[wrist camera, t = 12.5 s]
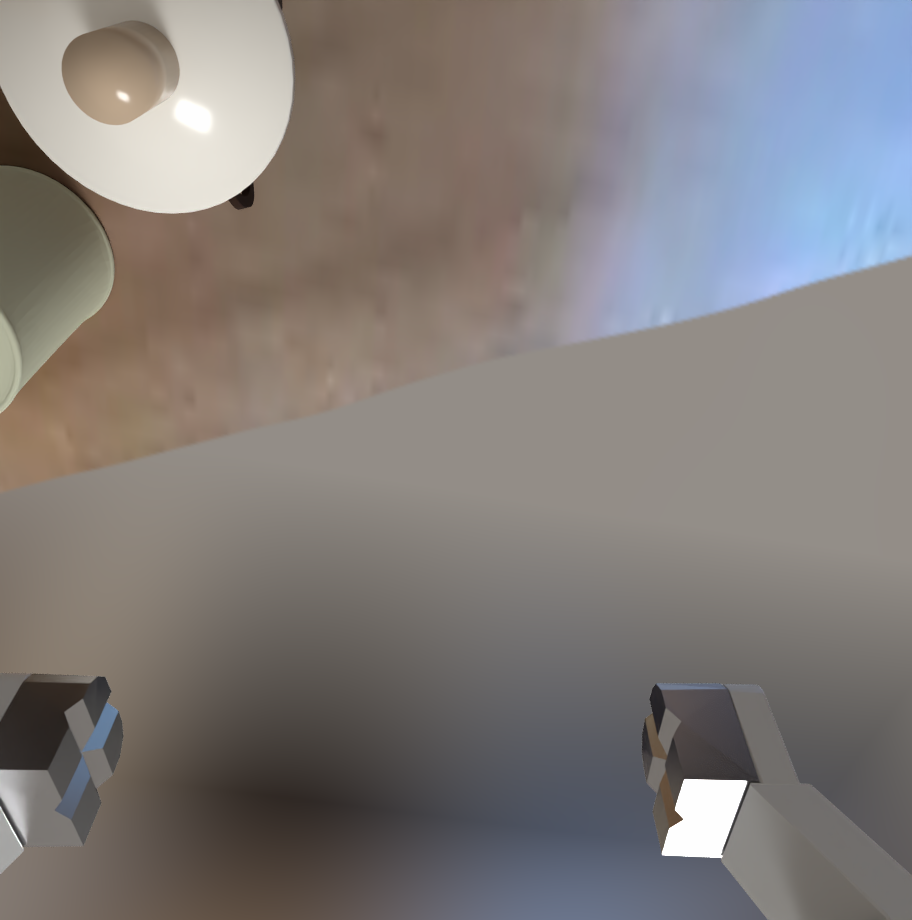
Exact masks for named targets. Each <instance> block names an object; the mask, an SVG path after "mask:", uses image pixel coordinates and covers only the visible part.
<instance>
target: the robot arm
mask: <svg viewBox="0 0 912 920" xmlns="http://www.w3.org/2000/svg"><path fill="white" fill-rule="evenodd" d="M110 693H111V689H110V687H109V685H108V682H107V680H106V678H105V677H100V676H78V675H53V674H26V673H0V874H1V873H2V872H3V871H4V870H5V869H6V868H7V867H8V866H9V865H10V864H11V863H12V862H13V861H14V860H15V859H16V858H17V857H18V856H19V855H20V854H21V853H22V852H23V851H24V849H23V847H50V846H51V847H54V846H84V843H85V841H86V838H87V836H88V834H89V831H90V829H91V826H92V824H93V822H94V819H95V817H96V814H97V812H98V809H99V807H100V805H101V800H100V797H99V794H98V792H97V788H98V787H99V786H100V785H101V784H102V783H104V782H105V781H106V780H107V779H108V778H109V777H111V776H112V775H113V773H114V770H115V768H116V765H117V762H118V760H119V758H120V753H121V747H122V741H123V726H122V720H121V717H120V714H119V711H118V710H116V709H115V708H113V707H112V706H111V705H109V704H108V703H107V700H108V698H109V696H110ZM650 704H651V709H652V714H651V715H650V716H648V717H647V718H645V722H644V726H643V732H642V758H643V767H644V771H645V777H646V782H647V783H648V785H649V786H650V787H651V788H652V789H653V790H654V791H655V792H656V793H657V796H656V800H655V804H654V808H653V815H654V820H655V824H656V829H657V833H658V838H659V843H660V847H661V852H662V855H677V856H702V857H722V859H721V861H722V863H723V864H724V865H725V866H726V867H727V869H728V870H729V871H730V872H731V874H732V875H733V876H734V878H735V879H736V880H737V881H738V883H739V884H740V885H741V886H742V887H743V889H744V890H745V891H746V893H747V894H748V895H749V896H750V898H751V899H752V900H753V901H754V903H755V904H756V905H757V906H758V908H759V909H760V910H761V912H762V913H763V914H764V915H765V917H766V918H767V919H768V920H912V875H911V874H910V873H908V872H907V871H906V870H905V869H904V868H903V867H902V866H901V865H899V864H898V863H897V862H896V861H895V860H894V859H893V858H892V857H891V856H890V855H888V854H887V853H886V852H885V851H884V850H883V849H882V848H881V847H880V846H878V845H877V844H876V843H875V842H874V841H873V840H872V839H871V838H870V837H868V836H867V835H866V834H865V833H864V832H863V831H862V830H860V829H859V828H858V827H857V826H856V825H855V824H854V823H853V822H852V821H851V820H850V819H849V818H847V817H846V816H845V815H844V814H843V813H842V812H841V811H840V810H838V809H837V808H836V807H835V806H834V805H833V804H832V803H831V802H830V801H829V800H827V799H826V798H825V797H824V796H823V795H822V794H821V793H819V792H818V791H817V790H816V789H815V788H814V787H813V786H812V785H811V784H800V783H799V780H798V778H797V775H796V772H795V770H794V768H793V765H792V763H791V760H790V757H789V755H788V752H787V750H786V747H785V745H784V742H783V739H782V737H781V734H780V732H779V729H778V727H777V724H776V722H775V719H774V717H773V714H772V712H771V709H770V706H769V704H768V701H767V699H766V696H765V694H764V691H763V690H762V689H761V688H760V687H759V686H758V685H744V684H741V685H739V684H723V685H722V684H720V683H719V684H718V683H708V684H707V683H700V684H699V683H691V684H690V683H676V684H675V683H656V684H655V685H654V687H653V688H652V691H651V695H650Z"/></svg>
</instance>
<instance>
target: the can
mask: <svg viewBox="0 0 912 920" xmlns="http://www.w3.org/2000/svg"><path fill="white" fill-rule="evenodd" d="M113 281H114V258H113V253H112V249H111V246H110V242H109V240H108V237H107V235H106V233H105V231H104V229H103V227H102V226H101V224H100V222H99V221H98V219H97V218H96V216H95V215H94V214H93V212H92V211H91V210H90V209H89V208H88V207H87V205H86V204H85V203H84V202H83V201H82V200H81V199H80V198H79V197H78V196H76V195H75V194H74V193H73V192H72V191H70V190H69V189H68V188H66V187H65V186H63V185H62V184H60V183H59V182H57V181H55V180H54V179H52V178H50V177H48V176H46V175H43V174H41V173H38V172H36V171H33V170H29V169H26V168H21V167H15V166H0V413H1V412H2V411H4V410H5V409H6V408H7V407H8V406H9V405H10V403H11V402H12V401H13V399H14V398H15V396H16V394H17V393H18V392H19V391H20V390H21V388H22V387H23V386H24V385H25V384H26V383H27V381H28V380H29V379H30V378H31V377H32V376H33V375H34V374H35V373H36V372H37V371H38V369H39V368H40V367H41V366H42V365H43V364H44V363H45V362H46V361H47V360H48V358H49V357H50V356H51V355H52V354H53V353H54V352H55V351H56V350H57V349H58V348H59V347H60V346H61V345H62V344H63V342H64V341H65V340H66V339H67V338H68V337H69V336H70V335H71V334H72V333H73V332H74V331H75V330H76V329H77V328H78V327H79V326H80V325H81V324H82V323H83V322H84V321H85V320H86V319H88V318H90V317H91V316H93V315H94V314H95V313H96V312H97V311H98V310H99V309H100V308H101V307H102V306H103V304H104V303H105V302H106V300H107V298H108V296H109V294H110V292H111V289H112V286H113Z"/></svg>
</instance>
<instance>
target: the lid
mask: <svg viewBox="0 0 912 920" xmlns="http://www.w3.org/2000/svg"><path fill="white" fill-rule="evenodd" d="M0 86H1V88H2V90H3V92H4V95H5V97H6V99H7V101H8V103H9V105H10V107H11V108H12V110H13V112H14V113H15V115H16V116H17V118H18V120H19V121H20V123H21V124H22V126H23V127H24V129H25V130H26V131H27V133H28V134H29V135H30V136H31V138H32V139H33V140H34V142H35V143H36V144H37V145H38V146H39V147H40V148H41V149H42V151H43V152H44V153H45V154H46V155H47V156H48V157H49V158H50V159H51V160H52V161H53V162H54V163H55V164H57V165H58V166H59V167H60V168H61V169H62V170H63V171H65V172H66V173H67V174H68V175H70V176H71V177H72V178H74V179H75V180H77V181H78V182H79V183H81V184H82V185H84V186H85V187H87V188H89V189H90V190H92V191H94V192H96V193H98V194H99V195H101V196H103V197H105V198H108V199H110V200H112V201H115V202H117V203H119V204H122V205H126V206H129V207H132V208H135V209H139V210H145V211H150V212H156V213H186V212H194V211H198V210H203V209H207V208H210V207H213V206H215V205H218V204H221V203H223V202H225V201H227V200H229V199H230V198H232V197H234V196H236V195H237V194H239V193H240V192H241V191H243V190H244V189H245V188H246V187H248V186H249V185H250V184H251V183H252V182H253V181H254V180H255V179H256V178H257V177H258V176H259V175H260V174H261V173H262V172H263V171H264V169H265V168H266V167H267V165H268V164H269V162H270V161H271V160H272V158H273V157H274V155H275V154H276V152H277V150H278V148H279V146H280V144H281V142H282V140H283V138H284V136H285V133H286V130H287V127H288V124H289V121H290V118H291V113H292V108H293V102H294V92H295V66H294V55H293V50H292V44H291V38H290V34H289V31H288V27H287V24H286V21H285V17H284V14H283V12H282V9H281V7H280V5H279V2H278V0H0Z"/></svg>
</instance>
